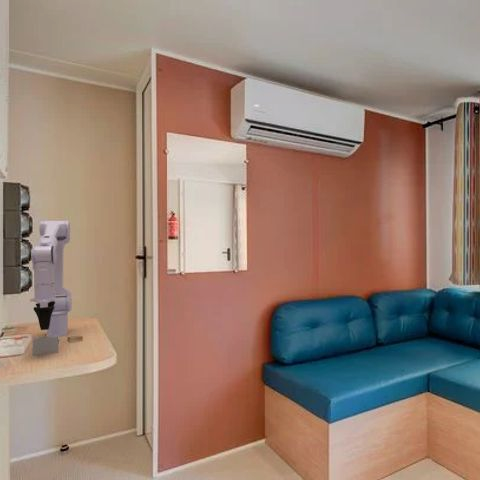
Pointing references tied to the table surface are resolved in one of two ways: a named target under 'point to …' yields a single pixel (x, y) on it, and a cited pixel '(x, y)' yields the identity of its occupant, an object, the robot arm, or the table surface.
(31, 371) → the table surface
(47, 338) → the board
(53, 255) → the robot arm
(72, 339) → the offcut top
